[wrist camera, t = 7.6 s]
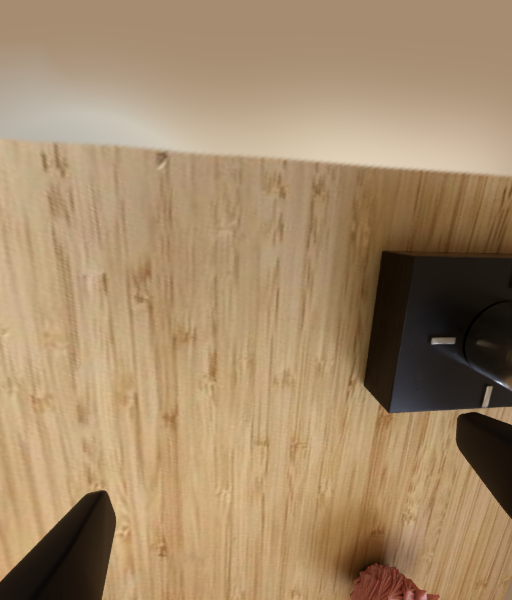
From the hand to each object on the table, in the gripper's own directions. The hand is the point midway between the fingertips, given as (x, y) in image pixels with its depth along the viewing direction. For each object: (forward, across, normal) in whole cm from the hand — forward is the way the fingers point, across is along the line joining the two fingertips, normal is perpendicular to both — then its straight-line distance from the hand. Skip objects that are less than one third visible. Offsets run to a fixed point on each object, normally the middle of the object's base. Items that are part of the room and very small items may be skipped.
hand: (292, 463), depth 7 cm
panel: (+10, -14, +2) cm, 17 cm away
